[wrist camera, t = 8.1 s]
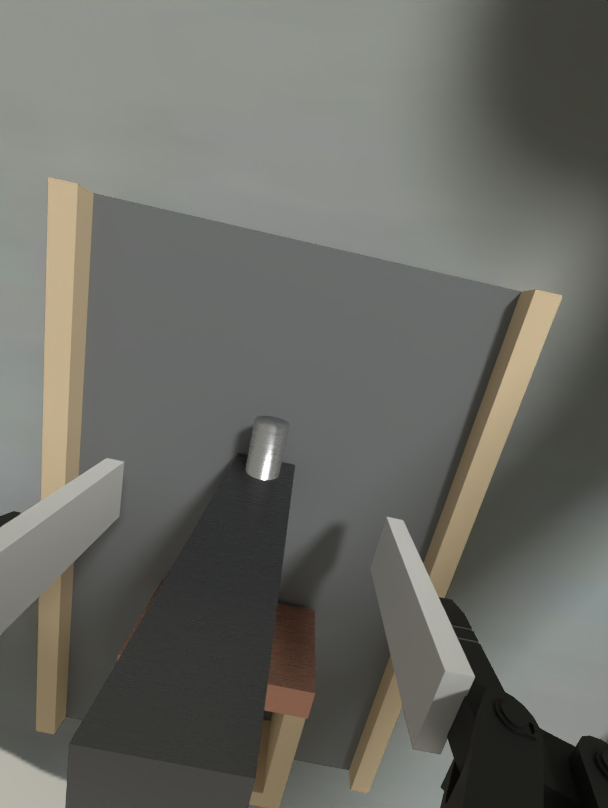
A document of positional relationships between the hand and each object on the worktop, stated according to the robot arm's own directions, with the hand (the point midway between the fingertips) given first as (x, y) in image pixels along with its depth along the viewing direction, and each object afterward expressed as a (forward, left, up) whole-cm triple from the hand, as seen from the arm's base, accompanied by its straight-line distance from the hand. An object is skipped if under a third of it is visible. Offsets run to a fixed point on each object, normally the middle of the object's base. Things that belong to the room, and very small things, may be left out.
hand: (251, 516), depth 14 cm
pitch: (+4, 0, -5) cm, 6 cm away
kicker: (+3, 0, -3) cm, 4 cm away
